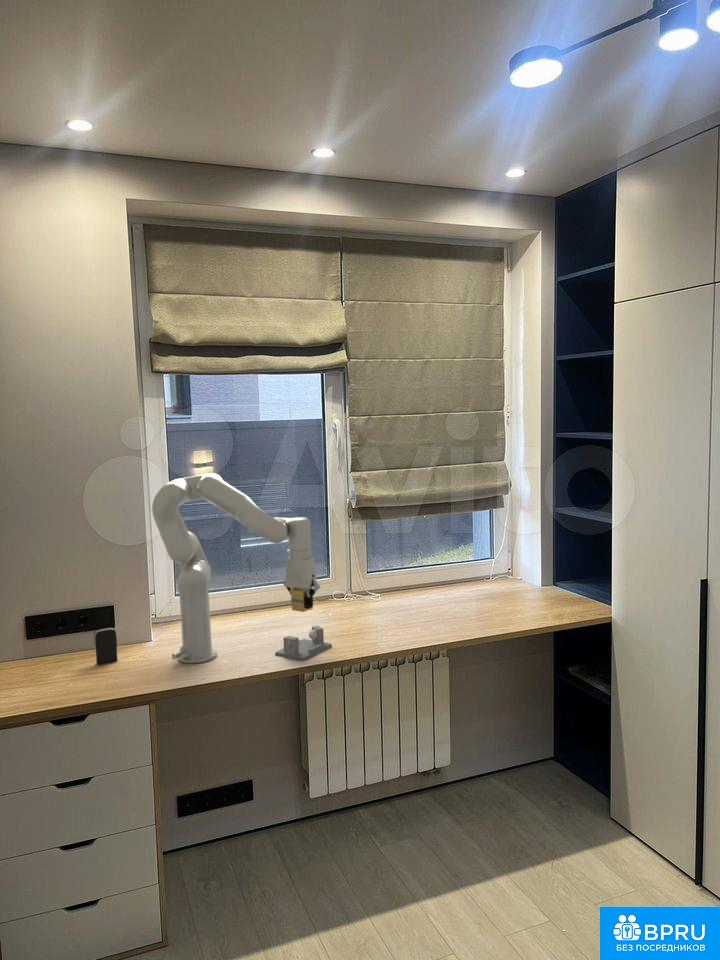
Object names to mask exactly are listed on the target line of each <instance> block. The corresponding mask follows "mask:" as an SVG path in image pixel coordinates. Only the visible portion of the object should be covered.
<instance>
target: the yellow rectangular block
mask: <svg viewBox="0 0 720 960" xmlns="http://www.w3.org/2000/svg"><path fill="white" fill-rule="evenodd" d="M309 592H310V590H309ZM290 596H292V598H291V597H290V601H291V610H292V611H294V612H295V611H296V612H303V613H304V612H307V611H309V610H312V609H314V606H313V607H311V608H309V609H306V599H305V598H306V597H307V595H306V591H305V589H298V588H295V589H292V590H291V595H290Z"/></svg>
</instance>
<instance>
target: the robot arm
mask: <svg viewBox="0 0 720 960" xmlns="http://www.w3.org/2000/svg"><path fill="white" fill-rule="evenodd" d="M157 491H158V492H157V493H156V494H155V495H154V498H153V501H152V506H151V510H152V511H151V512H152V517H153V520H154V521H155V525H156V527H157V529H158V532H159V534H160V537H161V540H162V542H163V544H164V548H165V550H166V552H167V554H168V557H169V558H170V560H172V561H173V562H175V563H177V564H178V566H179V568H180V572H179V575H178V578H177V589H178V595H179V604H180V605H179V608H180V625H181V641H182V642H181V643H182V644H181V645H182V646H180V647H179V648H180V649H179V651H177V652H174V653H172V655H171V658H172V660H176V659H178V661H179V662H181V663H186V664H198V663H199V664H200V663H205V662H209V661H211V660H212V661H213V659H215V658H216V657H217V654H218V653H217V650H216V649H214V648H213V647H212V629H211V628H212V627H211V606H210V593H209V581H210V579H211V575H212V571H211V570H212V569H211V567H210V564H209V562H208V558H207V556H206V554H205V552H204V550H203V547H202V544H201V542H200V540H199V538H198V537H197V536H196V534H195V533H193V532H191V531H189V530H188V528H187V527H186V523H185V521H184V519H183V516H182V515H181V513H180V507H181V506H182V505H184V504H186V503H189V502H190V503H191V502H195V501H201V500H205V501H206V502H208V503H209V504H211V505H212V506H214V507H215V508H217V509H218V510H219V509H220V511H223V512H224V514H225V513H226V514H227V515H229V516H230V517H232V518H233V519H235V520H236V521H237V522H238V523H240V524H241V525H243V526H244V527H245V528H247V529H248V530H250V531H251V532H253V533H254V534H256V535H257V536H259V537H260V538H262V539H264V540H265V541H267V542H269V543H272V544H280V543H282V542H284V541H285V539H286V538H287V539H288V549H287V550H286V553H287V554H288V557H287V559H286V564H285V573H284V574H285V577H284V579H285V580H284V581H283V583H282V584H283V586H284V587H285V588H286V589H287V591H288V592H289V595H290V596H291V590H292V589H295V588H298V589H305V591H306V595H307V597H306V598H305V599H306V609H309V608H311V607H313V608H314V597H313V596H315V594H316V593H317V592H318V591H319V590H320V589H321V586H320V584H319V583H318V581H317V573H316V566H315V561H314V557H312V539H311V538H312V537H311V536H312V535H311V534H312V533H311V531H312V530H311V521H310V519H309V518H308V517H306V516H296V517H281V516H280V517H279V516H276V517H275V516H274V517H273V516H272V515H270V514H268V513H266V512H265V511H264V510H263V509H262V508H260V507H259V506H258V505H257V504H256V503H255V502H254V501H253V500H252V499H251V498H250V497H249V496H248V495H247V494H245V493H243V492H241V491H240V490H238V489H237V488H235V487H234V486H232V485H230V484H229V483H228V482H226V481H224V478H222V476H220V474H217V473H214V472H211V473H204V474H200V475H199V474H198V475H193V476H187V477H181V478H176V479H173V480H171V481H168V482H167V483H165V484H164V485H163V486H162V487H161V488H160V489H159V490H157ZM309 590H310V592H309ZM291 598H292V596H291V597H290V599H291Z"/></svg>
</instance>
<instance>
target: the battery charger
mask: <svg viewBox="0 0 720 960" xmlns="http://www.w3.org/2000/svg"><path fill="white" fill-rule="evenodd" d="M93 645H94V652H95V664H96V665H97V666H101V664H102V665H107V664H111V662H112V663H115V662H117V661H118V639H117V631H116V630H115V629H114V628H112V627H105V628H100V629H99V628H98V629H96V630H95V631H94V632H93ZM106 663H107V664H106Z"/></svg>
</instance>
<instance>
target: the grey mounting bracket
mask: <svg viewBox="0 0 720 960" xmlns="http://www.w3.org/2000/svg"><path fill="white" fill-rule="evenodd" d="M308 637H309V639H306V638H302V639H301V640H300V638H299V637H297V636H291V635H287V636H285V637H283V647H282V648H281V649H279V650H276V651H275V652H274V654H275V656H278V657H283V658H288V659H293V660H298V661H302V660H303V661H306V660H308V659H310V658H312V657H314V656H316V655H318V654H320V653H322V652H323V651H326V650H328V649H330V648H332V647H333V645H332V643H329V642H325V641H324V640H325V639H324V638H325V636H324V628H323V627H321V626H319V625H314V626H311V630H310V631H309V632H308Z"/></svg>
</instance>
